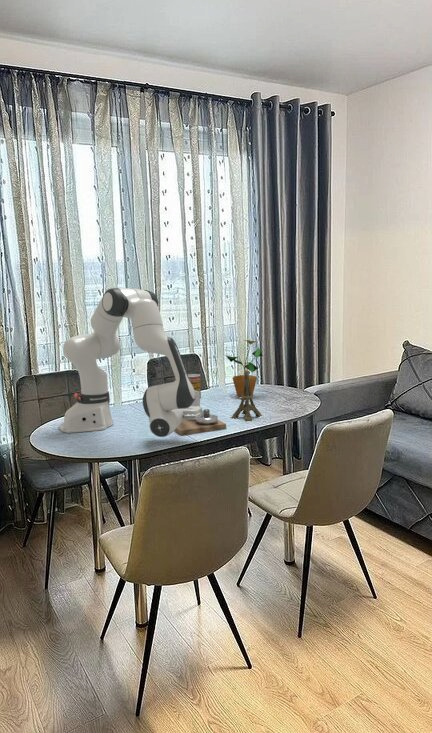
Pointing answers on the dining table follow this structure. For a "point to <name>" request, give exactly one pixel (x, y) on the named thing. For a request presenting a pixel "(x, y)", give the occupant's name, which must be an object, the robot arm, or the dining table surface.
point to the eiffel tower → (246, 401)
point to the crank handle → (204, 412)
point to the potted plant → (240, 379)
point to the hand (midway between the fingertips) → (180, 407)
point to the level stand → (197, 427)
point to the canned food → (195, 382)
